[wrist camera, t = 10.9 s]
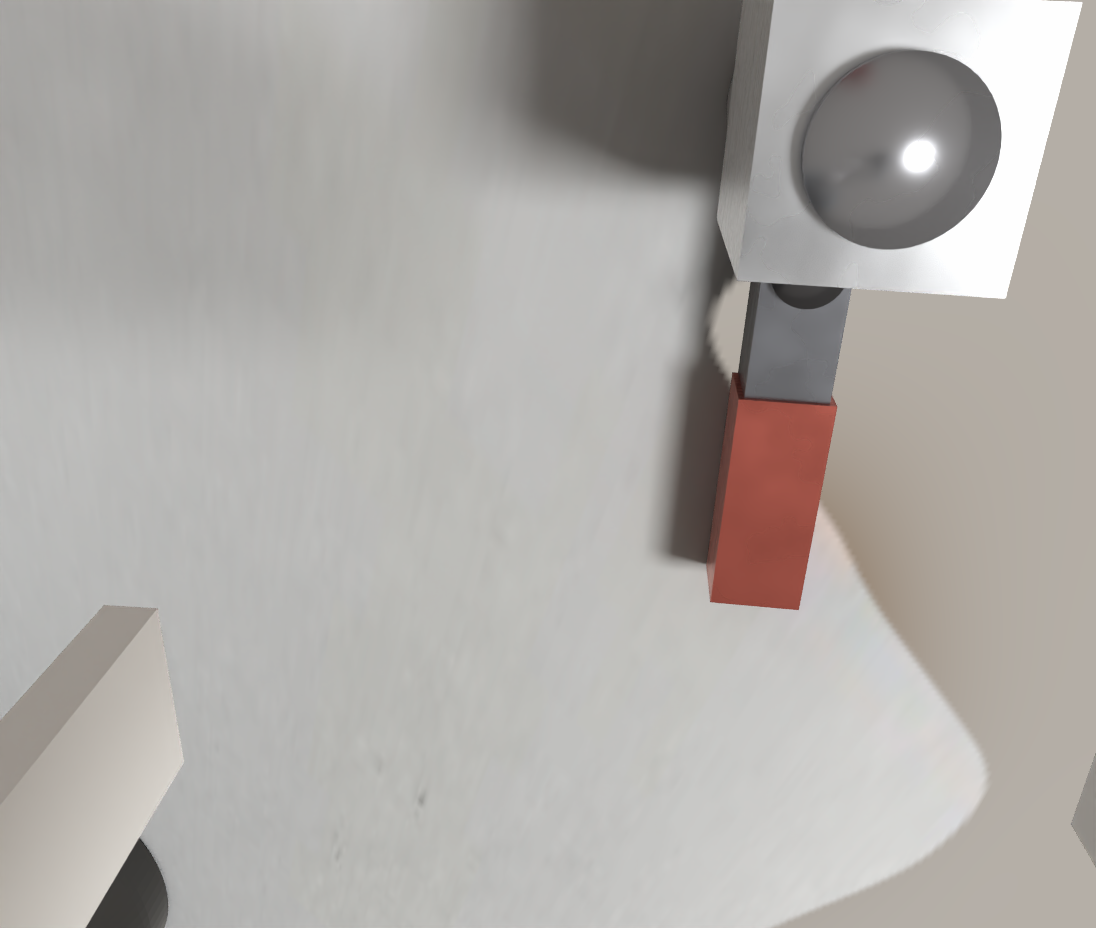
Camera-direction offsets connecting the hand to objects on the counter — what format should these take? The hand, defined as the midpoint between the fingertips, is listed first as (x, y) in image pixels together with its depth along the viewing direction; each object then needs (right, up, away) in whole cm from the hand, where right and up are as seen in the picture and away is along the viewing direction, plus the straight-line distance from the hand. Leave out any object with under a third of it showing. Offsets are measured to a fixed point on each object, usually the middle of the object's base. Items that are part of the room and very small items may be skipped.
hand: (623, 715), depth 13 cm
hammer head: (+7, +13, +14) cm, 20 cm away
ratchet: (+7, +8, +19) cm, 22 cm away
